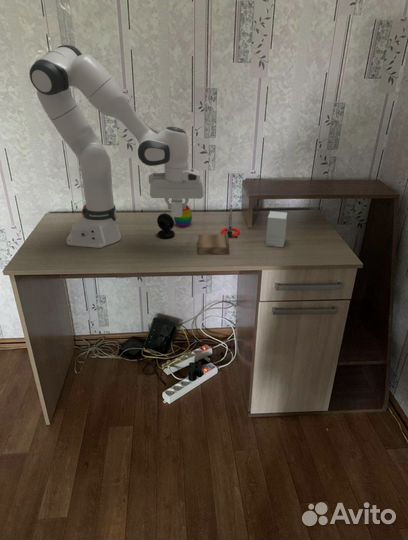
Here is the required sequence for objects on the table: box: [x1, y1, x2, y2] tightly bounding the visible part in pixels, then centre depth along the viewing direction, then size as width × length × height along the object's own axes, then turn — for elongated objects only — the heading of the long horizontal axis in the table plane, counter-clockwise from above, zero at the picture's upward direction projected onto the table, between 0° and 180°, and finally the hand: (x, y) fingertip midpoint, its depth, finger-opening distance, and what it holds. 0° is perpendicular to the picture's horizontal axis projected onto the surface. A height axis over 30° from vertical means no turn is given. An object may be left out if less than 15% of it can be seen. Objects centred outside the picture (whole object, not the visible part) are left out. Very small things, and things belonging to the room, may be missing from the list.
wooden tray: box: [198, 231, 230, 255], centre depth 164 cm, size 12×12×4 cm
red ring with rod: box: [220, 207, 241, 239], centre depth 175 cm, size 8×13×9 cm
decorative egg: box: [173, 202, 193, 228], centre depth 183 cm, size 8×8×10 cm
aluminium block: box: [170, 198, 183, 218], centre depth 156 cm, size 4×6×6 cm
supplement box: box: [265, 210, 288, 248], centre depth 166 cm, size 7×7×13 cm
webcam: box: [156, 212, 176, 240], centre depth 173 cm, size 8×8×10 cm
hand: (177, 208), depth 157 cm, fingers closed on aluminium block, 4 cm apart
